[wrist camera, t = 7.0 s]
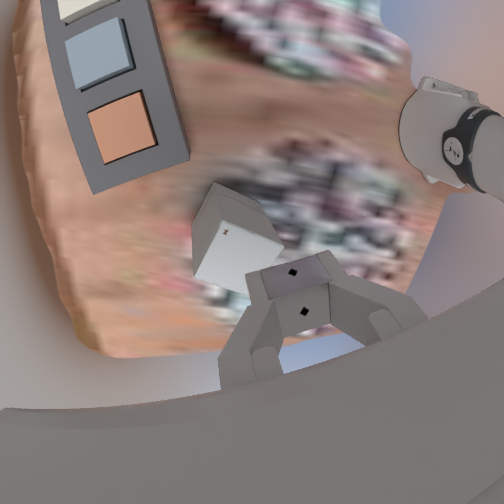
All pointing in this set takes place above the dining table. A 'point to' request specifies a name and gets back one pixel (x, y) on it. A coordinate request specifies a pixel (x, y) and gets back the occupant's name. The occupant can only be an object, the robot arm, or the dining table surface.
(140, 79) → the key console
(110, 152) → the terracotta key
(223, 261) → the supplement box
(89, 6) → the cream key
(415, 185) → the dining table surface
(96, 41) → the slate key
